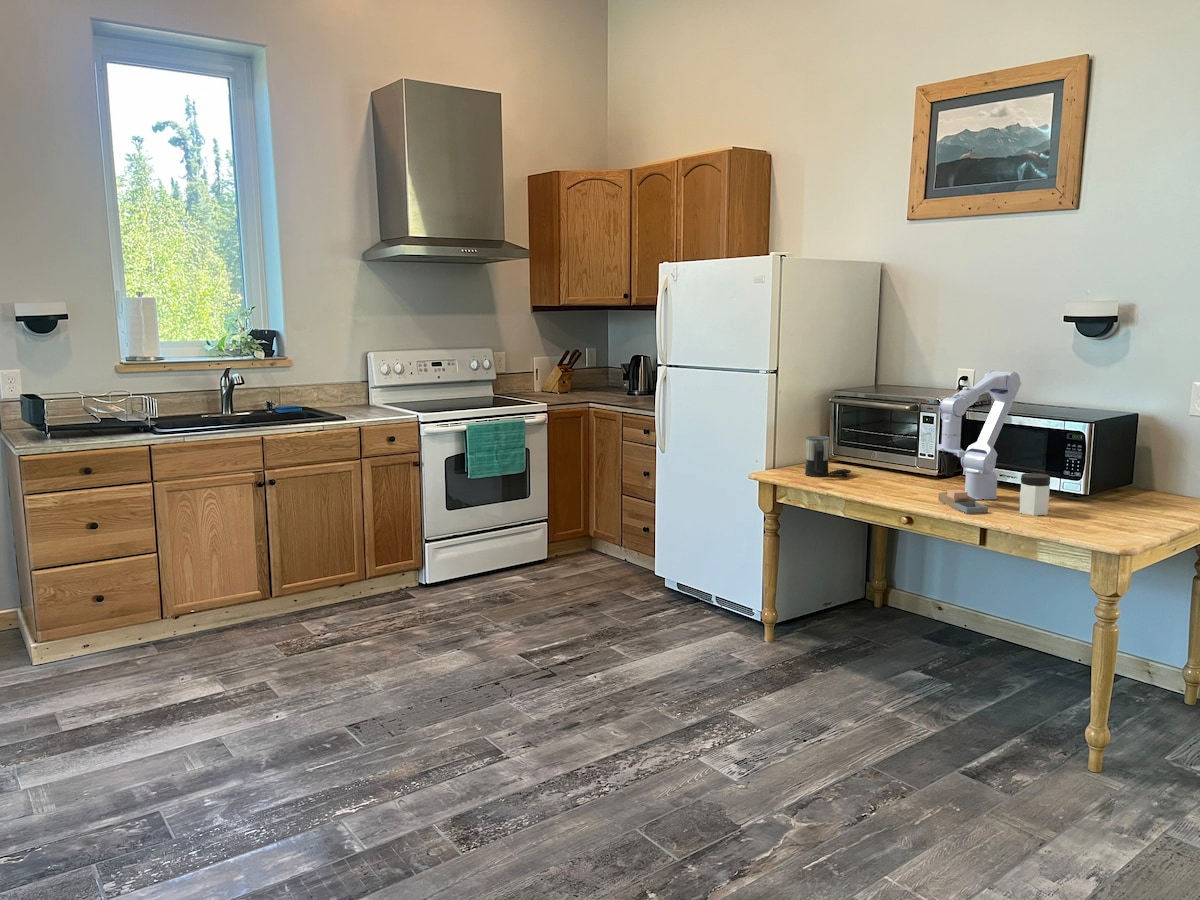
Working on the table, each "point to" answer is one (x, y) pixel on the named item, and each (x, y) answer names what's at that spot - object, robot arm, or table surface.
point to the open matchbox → (951, 501)
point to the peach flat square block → (957, 494)
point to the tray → (971, 507)
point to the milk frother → (819, 457)
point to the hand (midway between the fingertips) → (949, 475)
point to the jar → (1034, 494)
